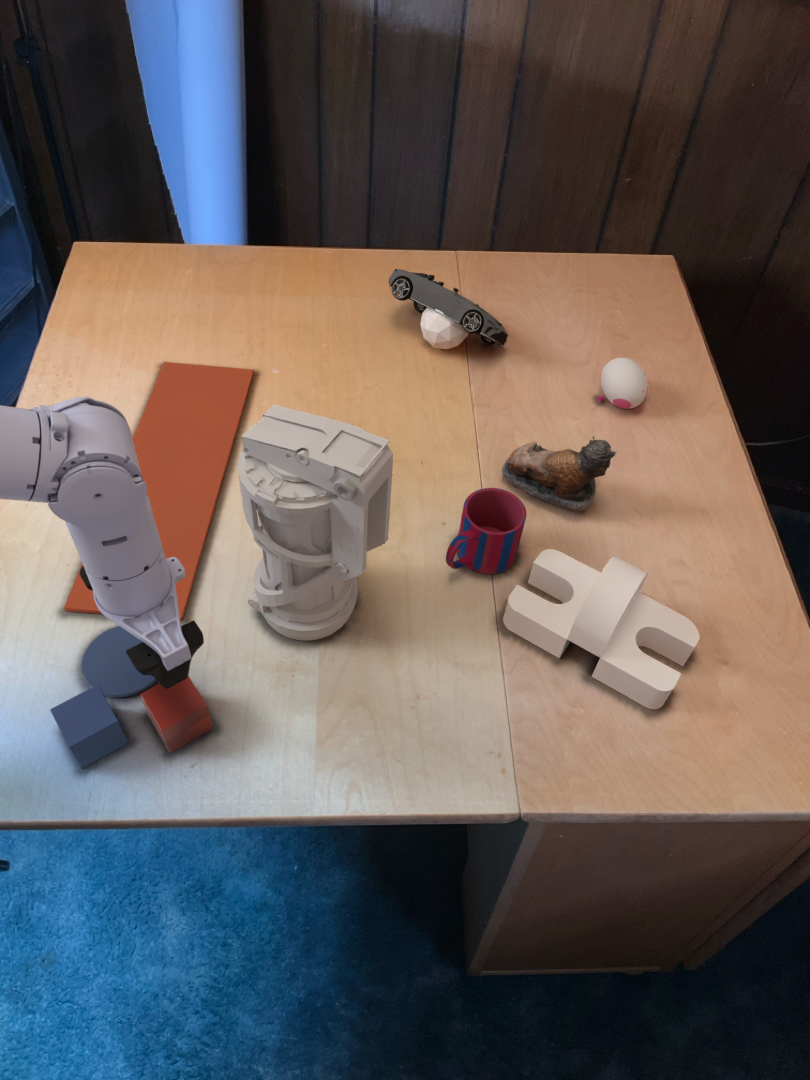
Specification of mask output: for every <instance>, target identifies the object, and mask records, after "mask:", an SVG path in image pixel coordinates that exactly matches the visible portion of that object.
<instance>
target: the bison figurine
mask: <svg viewBox="0 0 810 1080" xmlns="http://www.w3.org/2000/svg"><path fill="white" fill-rule="evenodd" d="M611 447H612V446H611V444H610V443H609V441H607V440H606V439H595V435H593V436H592V437H590V439H589V442H588V444H587V443H586V445H583V446H581V449H580V451H579V452H578V451H577V450H576V451H575V450H573V449H571V448H567V449H562V450H557V451H554V450H548V449H547V448H544V447H542V446H541V445H539V444H538V443H537V442H536V441H531V442H529V443H525V444H524V445H522V446H520V447H518V448H516V449H515V450H513V451H512V452H511V453H510V455H509V457H508V458H507V459H506V460H505V462H503V465H502V469H501V473H502V476H503V477H504V478H505V479H506V480H507V481H508V482H509V483H510V484H511V485H512V486H514V487H515V488H517V489H518V490H521V491H523V492H525V493H527V494H528V495H531V496H533V497H534V498H537V499H539V500H542V501H545V502H547V503H549V504H552V505H554V506H557V507H561V508H564V509H567V510H571V511H582V510H585V509H587V508H588V507H589V506H590V505H591V504H592V503H593V501H594V499H595V497H596V493H597V484H596V482H597V481H596V478H599V477H603V476H605V475H606V472H607V470H608V469H609V468H610V466H611V460H612V458H614V457H615V456H616V455H617V451H618V450H617V447H614V449H613V450H612V448H611Z"/></svg>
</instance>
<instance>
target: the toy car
mask: <svg viewBox="0 0 810 1080" xmlns="http://www.w3.org/2000/svg"><path fill="white" fill-rule="evenodd" d="M435 277H436V276H435V275H434V274H427V273H423V272H412V271H408V270H405V269H400V268H394V270H393V271H392V273H391V275H390V276H389V277H388V287H390V288H391V294H392V296H393V297H394V298H395V299H396V300H398V301H401V302H404V301H408V300H410V301H412V302H413V304H412V305H413V307H414V309H415V311H416V312H418V313H420V314H421V319H420V323H419V325H420V329H421V333H422V336H423V339H424V340H425V341H427V343H429V344H430V346H431V347H433V348H435V349H441V350H442V349H443V350H449V349H453V348H456V347H459V346H460V345H461V344H462V342H464V340H466V338H467V337H468V336H469V334H470V335H476V336H480V340H481V342H482V343H484V344H485V345H487V346H494V345H497V346H499V347H500V348H505V344H506V343H507V342H508V341H507V340H508V337H509V334H508V332H507V330H506V328H505V326H503V324H502V323H501V322H500V321H499V320H498V319H497V318H496V317H494V316H493V315H492V314H491V313H489V312H488V311H486V310H485V309H484V308H482V307H481V306H480V305H479V304H478V303H474V302H473V301H471V300H469V299H468V298H466V297H465V296H463V295H461V294H460V293H459V292H460V290H459V288H456V287H453V288H452V289H449V288H447V287H445V286H444V285H445V282H444V281H438V280H435Z"/></svg>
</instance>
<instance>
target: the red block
mask: <svg viewBox="0 0 810 1080" xmlns="http://www.w3.org/2000/svg"><path fill="white" fill-rule="evenodd" d="M139 696H140V698H141V702H142V703H143V706H144V708H145V711H146V713H147V715H148V718H149V720H150V722H151V723H152V725H153V727H154V729H155V730H156V732H157V734H158V736H159V737H160V739H161V741H162V742H163V744H164V746H165V748H166V749H167V751H168V753H169V754H171V753H173V752H174V751H177V750H178V749H179V748H181V747H183V746H185V745H187V744H188V743H190V742H192V741H194V740H195V739H197V738H199V737H200V736H202V735H204V734H206V733H207V732H209V731H211V730H212V729H214V725H213V721H212V717H211V714H210V711H209V707H208V704H207V703H206V701H205V699H204V698H203V697H202V695H201V693H200V691H199V690H198V689H197V687H196V685H195V684H194V682H193V680H192V678H191V677H190V676H189V675H188V677H187V679H185V680H183V681H181V682H180V683H178V684H176V685H174V686H172V687H170V688H169V689H165V688H164V687H163V686H161V685H160V684H159V683H158V684H157V685H154V686H153V687H151V688H148V689H146V690H144V691H142V692H140V693H139Z"/></svg>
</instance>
